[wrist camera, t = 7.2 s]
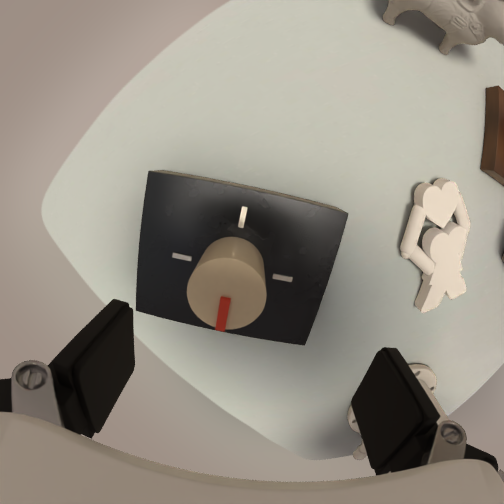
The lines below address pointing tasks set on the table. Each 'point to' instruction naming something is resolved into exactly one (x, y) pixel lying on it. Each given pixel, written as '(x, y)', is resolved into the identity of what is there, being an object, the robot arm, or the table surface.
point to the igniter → (494, 135)
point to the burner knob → (228, 284)
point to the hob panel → (242, 226)
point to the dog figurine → (456, 19)
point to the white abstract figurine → (437, 241)
